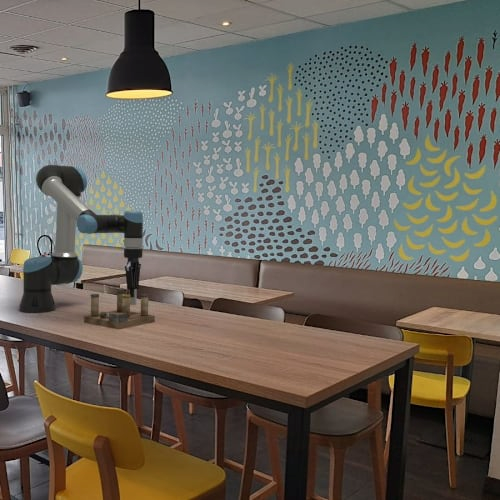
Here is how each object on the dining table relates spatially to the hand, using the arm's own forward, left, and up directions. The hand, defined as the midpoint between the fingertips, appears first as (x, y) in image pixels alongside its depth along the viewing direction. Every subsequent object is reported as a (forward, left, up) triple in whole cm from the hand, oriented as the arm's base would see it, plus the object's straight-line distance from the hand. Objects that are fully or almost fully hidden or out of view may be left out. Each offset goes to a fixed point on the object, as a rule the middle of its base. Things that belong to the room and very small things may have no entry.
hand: (132, 304), depth 241 cm
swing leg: (0, -10, -4) cm, 10 cm away
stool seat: (-1, -6, -6) cm, 9 cm away
